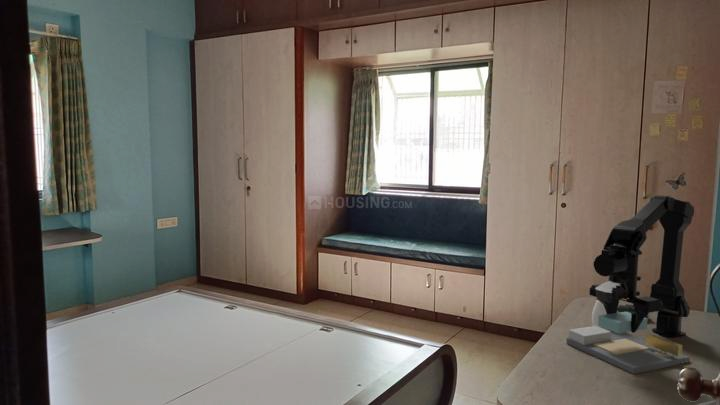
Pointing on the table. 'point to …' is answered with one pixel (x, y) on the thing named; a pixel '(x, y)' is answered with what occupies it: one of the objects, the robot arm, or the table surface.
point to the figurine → (599, 313)
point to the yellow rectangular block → (664, 345)
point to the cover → (619, 322)
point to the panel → (621, 349)
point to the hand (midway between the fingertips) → (622, 328)
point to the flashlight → (626, 309)
